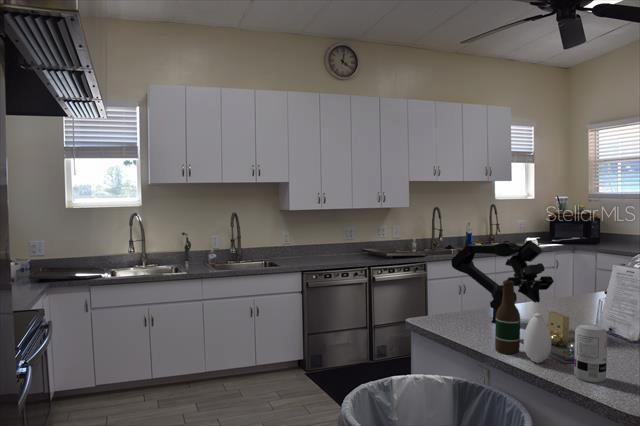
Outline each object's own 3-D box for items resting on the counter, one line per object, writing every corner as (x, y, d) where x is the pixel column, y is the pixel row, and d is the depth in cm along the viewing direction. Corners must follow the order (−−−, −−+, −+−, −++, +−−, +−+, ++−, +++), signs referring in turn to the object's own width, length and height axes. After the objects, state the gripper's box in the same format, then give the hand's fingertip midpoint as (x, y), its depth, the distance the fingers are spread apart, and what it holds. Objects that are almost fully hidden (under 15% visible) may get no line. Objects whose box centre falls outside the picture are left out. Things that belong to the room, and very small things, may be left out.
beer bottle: (519, 349, 174) (520, 279, 173) (520, 356, 167) (521, 283, 166) (495, 346, 177) (496, 278, 176) (495, 353, 169) (496, 282, 168)
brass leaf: (539, 339, 183) (540, 312, 183) (553, 338, 184) (554, 311, 184) (553, 346, 175) (554, 317, 175) (568, 345, 177) (569, 316, 176)
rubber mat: (516, 340, 185) (516, 339, 184) (553, 338, 187) (553, 337, 187) (564, 364, 159) (564, 363, 159) (605, 361, 162) (605, 360, 162)
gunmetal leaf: (550, 353, 168) (551, 343, 168) (574, 352, 170) (575, 341, 170) (565, 360, 161) (565, 349, 161) (590, 359, 163) (590, 348, 163)
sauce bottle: (518, 360, 162) (519, 304, 162) (534, 356, 166) (535, 302, 166) (539, 367, 156) (540, 309, 155) (555, 363, 160) (557, 306, 159)
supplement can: (568, 373, 151) (569, 323, 150) (594, 372, 152) (595, 323, 151) (584, 383, 143) (586, 330, 142) (612, 383, 143) (614, 330, 143)
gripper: (508, 256, 195) (524, 290, 184) (551, 255, 198) (569, 289, 188) (496, 273, 203) (511, 307, 192) (538, 272, 206) (555, 305, 196)
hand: (537, 301), depth 192 cm, fingers closed
